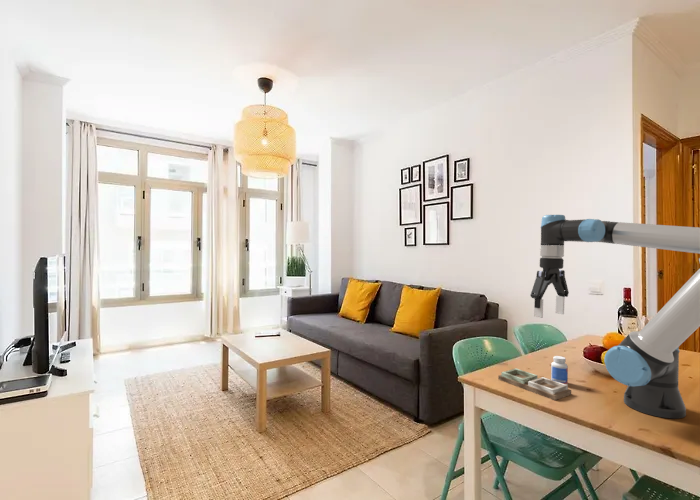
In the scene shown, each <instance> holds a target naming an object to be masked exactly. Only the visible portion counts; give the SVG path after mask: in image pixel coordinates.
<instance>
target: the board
mask: <svg viewBox="0 0 700 500" xmlns="http://www.w3.org/2000/svg"><path fill="white" fill-rule="evenodd" d="M538 377H539V375H538V374H534V373H531V372H528V371H526V370H522V369H519V368H512V369H509V370H506V371H502V372H501V374H499V375H498V377H497V378H498V381H501V382H503V383H507V384H510V385H513V386H515V387H517V388H521V389H523V390H526V391H529V392H531V393H534V394H537V395H540V396H543V397H545V398H547V399H550V400H552V401H558V400H560V399H563V398H565V397H568V396H570V395H572V389H569V388H568V387H569V386H568V384H567V385H566V384H563V383H560V382H556V381H553V380H551V379H550V378H546V377H544V376H542V377H541V376H540V377H539V378H538Z"/></svg>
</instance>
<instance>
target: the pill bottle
mask: <svg viewBox="0 0 700 500" xmlns="http://www.w3.org/2000/svg"><path fill="white" fill-rule="evenodd" d="M566 360H567V359H566V357H565V356H561V355H554V356H553V362H551V365H550V366H551V367H550V369H551V373H550V375H551V376H550V377H551V379H550V380H553V381H556V382H560V383H563V384H566V385H568V382H569V380H568V379H569V378H568V375H569V370H568V368H569V367H568V366H569V365H568V364H567V363H566Z"/></svg>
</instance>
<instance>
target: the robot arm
mask: <svg viewBox="0 0 700 500" xmlns="http://www.w3.org/2000/svg"><path fill="white" fill-rule="evenodd" d="M565 242H575V243H576V242H577V243H579V242H580V243H583V242H584V243H603V244H616V245H623V246H624V245H625V246H631V247H640V248H650V249H657V250H658V249H659V250H666V251H674V252H683V253H684V252H685V253H690V254H691V253H692V254H699V255H700V227H697V226H695V227H694V226H683V225H682V226H680V225H679V226H678V225H664V224H650V223H649V224H648V223H636V222H634V223H633V222H621V221H620V222H618V221H609V220H608V221H607V220H600V219H598V218H597V219H595V218H586V219H566V216H565V215H564V214H546V215H543V216H542V217H541V223H540V248H539V250H540V251H539V252H540V253H539V256H540V258H539V268H541V269H542V270H537V271H536V277H535V280H534V283H533V286H532V290H531V292H530V298H532V299H534V310H533V311H534V313H533V314H534V315H533V317H536V318H539V319H542V318H543V316H544V299H543V297H544V295H545V293H546V291H547V289H548V287H549V286H550V285H552V286H553V288H554V290H555V292H556V294H557V295H556V296H555V314H559V315H564V314H565V302H566V301H565V299H566V298H567V297H568V296H569V288H568V285H567V280H566V276H565V275H566V274H565V273H566V272H565V271H566V270H563V268H564V258H563V257H564V256H565ZM698 261H699V263H700V257H699V258H698ZM565 297H566V298H565ZM699 328H700V268H699V269H698V270H697V271H695V273H694V274H693V275H692V276H691V277H690V278H689V279H688V280H687V281H686V282H685V283H684V284H683V285H682V286H681V288H679V290H678V291H676V293H674V295H673V296H672V297H671V298H670V299H669V300H668V301H667V302H666V303H665V304H664V305H663V307H662V308H661V309H660V310H658V311H657V313H656V314H655V315H654V316H653V317H652V318H651V319H650V320H649V321H648V322H647V323H646V324H645V325H644V327H642V329H640V330H639V331H637V330H636V331H635V330H634V331H631V332H629V333H628V335H627V336H625V337H624V338H623V340H622V341H621V342H620V343H618V345H614V346H612V347H610V348H609V349H608V350H607V351H606V352H605V355H604V359H603V360H604V365H605V368H606V370H607V372H608V373H609V375H610V376H611V377H612V378H613V379H614V380H615V381H617V382H619V383H620V384H623V385H624V386H627V387H626V389H625V391H624V393H623V394H624V395H623V403H624V404H625V405H626V406H627V407H629V408H631V409H633V410H635V411H638V412H640V413H643V414H646V415H649V416H653V417H659V418H662V419H663V418H665V419H674V420H675V419H676V420H677V419H682V418H683V419H684V418H685V417H686V416H687V408H686V405H685V402H684V399H683V397H682V394H681V393H680V390H679V371H680V370H679V367H680V364H679V363H680V361H679V359H680V358H679V357H680V356H679V355H680V349H679V347H680V346H681V345H682V344H683V343H684V342H686V340H687V339H688V338H689V337H690V336H691V335H693V333H694V332H695V331H696V330H697V329H699Z"/></svg>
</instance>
